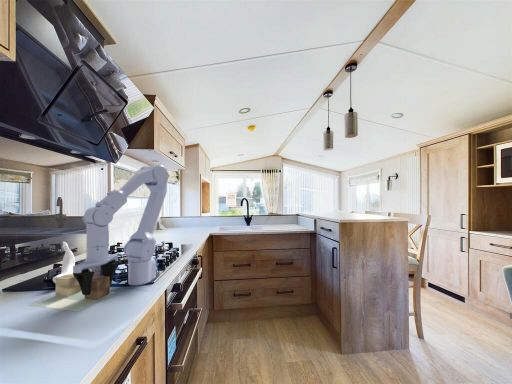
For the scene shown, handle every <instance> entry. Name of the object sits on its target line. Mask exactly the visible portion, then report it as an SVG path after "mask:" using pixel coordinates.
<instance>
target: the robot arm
mask: <svg viewBox="0 0 512 384" xmlns="http://www.w3.org/2000/svg"><path fill="white" fill-rule="evenodd" d="M169 178H170V174H169V172H168V169H167V167H166V166H164V165H163V164H158V165H157V164H156V165H150V166H149V165H148V166H146V165H145V166H142V167H140V168H139V169H138V170H136V171H135V174H134V175H133V176H131V178H129V179H128V180H127V181H126V182H125V183H124V184H123V186H121V188H119V189H118V190H117V189H114V190H109V191H107V193H106V196H105V197H104V198H103V199H101V200H100V201H96V203H95V206H92V207H89V208H88V209H86V210H85V212H84V214H83V215H82V217H81V218H82V221H83V223H84V224H85V225H86V250H85V251H86V255H85V256H86V259H85V260H84V261H82V262H80V263H78V264H75V266H73V276H74V277H75V278H76V279H77V281H78V283H79V285H80V288H81V291H82V295H90V293H91V282H92V278H93V277H94V274H95V271H90V269H93V268H97V267H100V269H101V272H102V273H101V274H102V276H108V277H110V286H111V284H112V282H113V278H114V276H115V275H114V274H115V272H116V270H117V268H118V267H119V266H120V265H119V264H120V262H119V261H118V260H119V255H118V254H110V255H109V224H111V223H112V221H113V219H114V215H115V214H116V213H117V212H118V211H119V210H120V209H121V208H122V207H123V206H124V205H126V204H127V203H128V197H129V196H130V195H131V194H133V193H134V192H135V191H136V190H137V189H139V188H140V187H141V186H143V184H144V185H145V186H146V187H147V189H149V192H150V194H149V197H148V200H147V202H146V204H145V208H144V211H143V214H142V216H141V219H140V222H139V224H138V228H137V230H136V232H134V233H132V235H130V237H129V240H127V242H126V243H125V244H124V247H123V252H124V255H125V256H126V257H127V265H128V266H127V268H128V269H127V270H128V271H127V273H128V274H127V275H128V279H127V281H128V282H127V283H128V285H129V286H142V285H146V284H148V283H150V282H151V281H152V280H154V279H156V278H157V263H156V260H155V258H154V257H153V256H154V255H155V252H156V249H155V248H156V246H155V245H156V242H157V240H156V239H155V237H154V235H153V234H154V231H155V228H156V225H157V222H158V218H159V216H160V214H161V210H162V207H163V204H164V201H165V198H166V195H167V191H168V190H167V189H168V181H169Z"/></svg>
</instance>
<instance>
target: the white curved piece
mask: <svg viewBox="0 0 512 384" xmlns="http://www.w3.org/2000/svg"><path fill="white" fill-rule="evenodd" d="M61 248H63V249H64V251H65V252H64V255H63V259H62V263H61V273H60V274H57V275H56V276H53V278H52V281H53V283H54V284H55V285H56V278H58V277H61V276H64V275H67V274H73V266H75V265H76V257H75V255H74V253H73V251H72V250H71V249H70V248H69V244H68V243H67V242H66V241H62V246H61Z"/></svg>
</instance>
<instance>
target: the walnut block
mask: <svg viewBox="0 0 512 384" xmlns="http://www.w3.org/2000/svg"><path fill="white" fill-rule="evenodd" d="M110 287H111V285H110V277H108V276H103V275H95V276H93V278H92V282H91V293H90V295H85V299H94V300H98V299H100V298H102V297H104V296H106V295H108V294H110V292H111V289H110Z"/></svg>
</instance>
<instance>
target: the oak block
mask: <svg viewBox="0 0 512 384" xmlns="http://www.w3.org/2000/svg"><path fill="white" fill-rule="evenodd" d="M80 291H81V288H80V285H79V283H78V281H77V279H76V278H75V277H74V276H73V274H67V275H64V276H61V277H58V278H56V284H55V295H56V296H65V297H68V296H71V295H73V294H75V293H78V292H80Z"/></svg>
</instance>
